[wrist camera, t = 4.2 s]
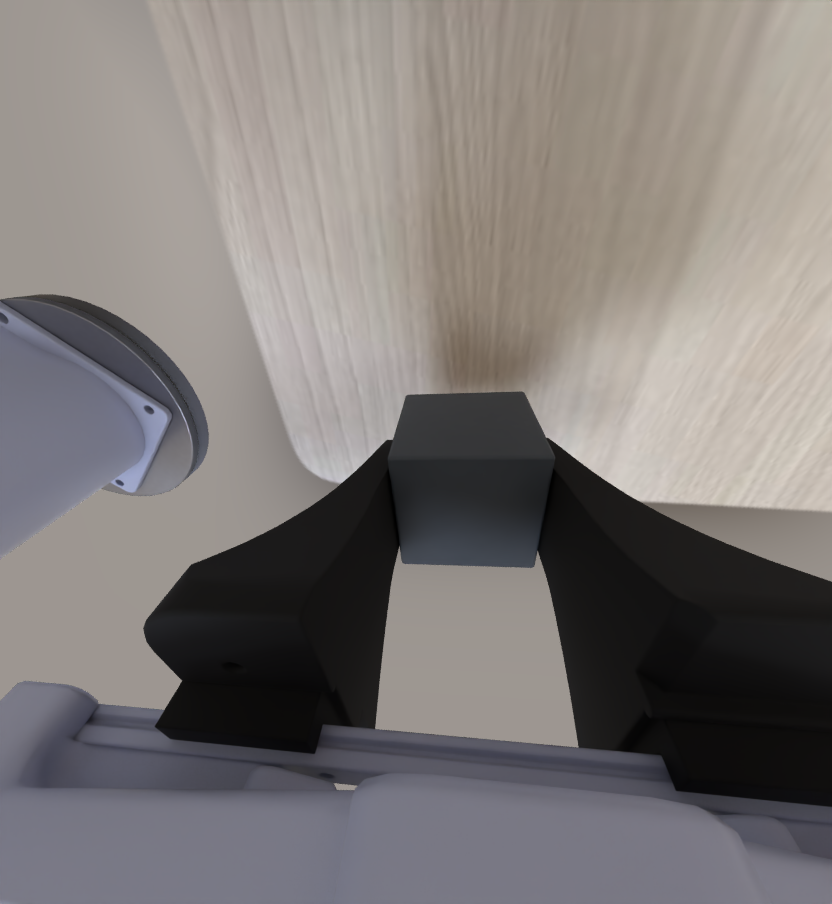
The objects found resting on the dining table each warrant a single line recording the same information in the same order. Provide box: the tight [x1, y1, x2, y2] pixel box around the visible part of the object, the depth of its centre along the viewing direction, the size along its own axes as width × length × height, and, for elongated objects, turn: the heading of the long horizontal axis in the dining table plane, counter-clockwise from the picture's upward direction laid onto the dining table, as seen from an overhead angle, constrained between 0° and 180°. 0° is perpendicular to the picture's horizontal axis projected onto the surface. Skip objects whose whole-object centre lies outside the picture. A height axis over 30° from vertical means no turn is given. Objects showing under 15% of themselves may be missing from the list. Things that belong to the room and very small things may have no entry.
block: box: [388, 392, 555, 568], centre depth 10 cm, size 4×4×4 cm
